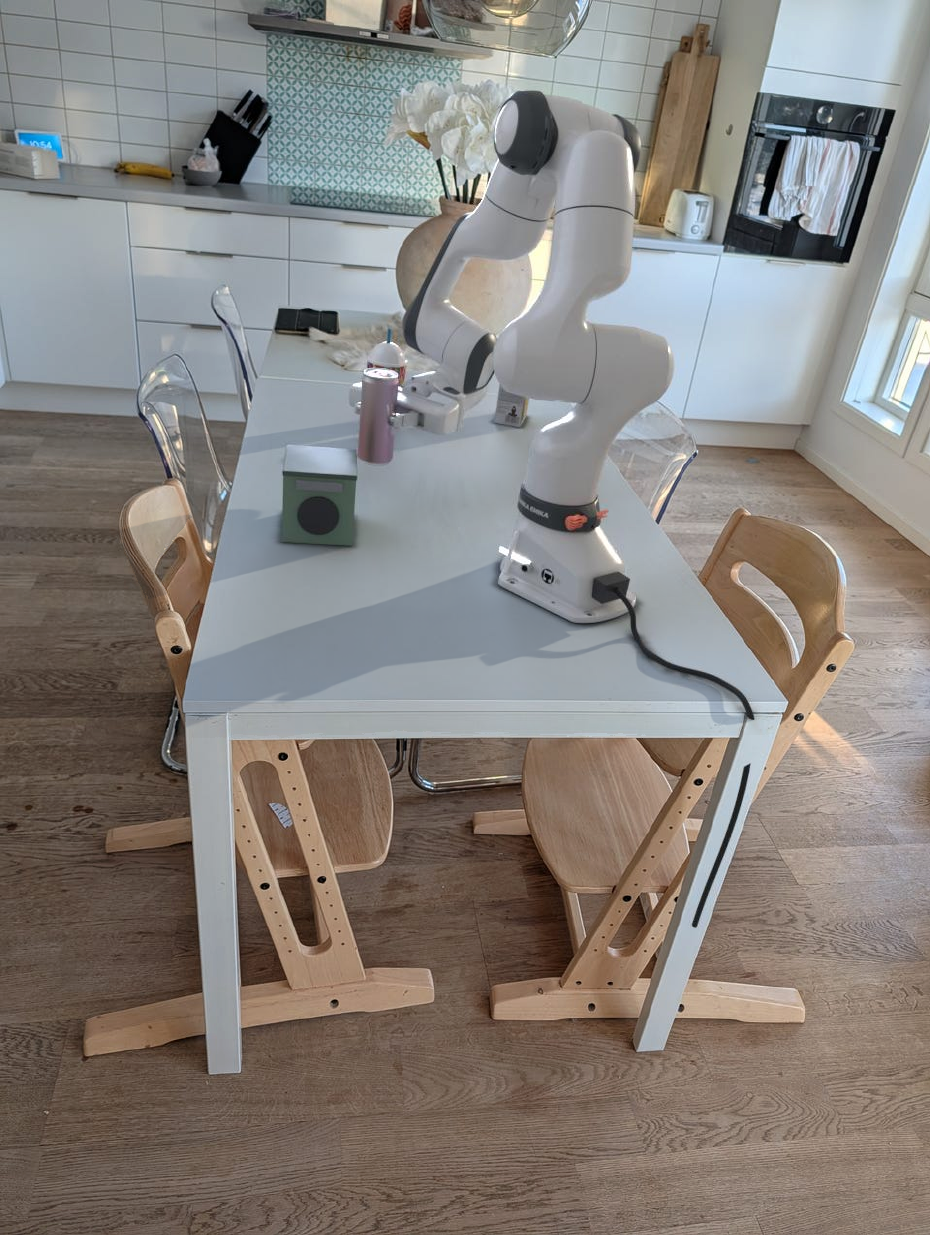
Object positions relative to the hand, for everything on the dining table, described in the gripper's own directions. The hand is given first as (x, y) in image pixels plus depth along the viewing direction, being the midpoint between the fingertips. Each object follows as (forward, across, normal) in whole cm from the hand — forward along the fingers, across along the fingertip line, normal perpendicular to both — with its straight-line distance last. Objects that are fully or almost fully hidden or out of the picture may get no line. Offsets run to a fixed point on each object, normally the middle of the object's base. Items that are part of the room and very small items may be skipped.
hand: (375, 415), depth 150 cm
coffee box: (-63, -8, +16) cm, 65 cm away
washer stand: (+13, 0, +16) cm, 21 cm away
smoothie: (-37, -25, +16) cm, 47 cm away
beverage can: (-1, 0, +8) cm, 8 cm away
